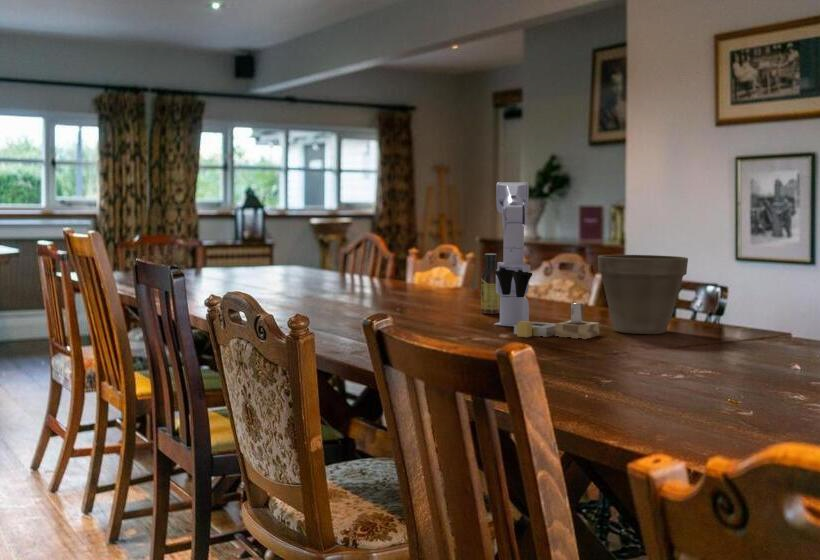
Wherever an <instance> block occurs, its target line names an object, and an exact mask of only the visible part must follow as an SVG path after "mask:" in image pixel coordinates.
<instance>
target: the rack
mask: <svg viewBox="0 0 820 560" xmlns="http://www.w3.org/2000/svg"><path fill="white" fill-rule="evenodd" d="M554 324H555V335H554V336H555V337H556V336H559V337H558V338H567V337H571V339H578V338H582V340H587V338H588V339H591V338H595V337H598V336H600V322H596V321H595V322H593V321H583V325H578V324H571V319H570V320H567V321H566V320H565V321H562V322H557V323H554Z"/></svg>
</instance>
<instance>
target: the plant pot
mask: <svg viewBox="0 0 820 560" xmlns="http://www.w3.org/2000/svg"><path fill="white" fill-rule="evenodd" d="M688 261H689V258H688V257H685V256H678V255H677V256H676V255H675V256H674V255H673V256H672V255H657V254H654V255H653V254H652V255H651V254H603V255H598V256H597V268H598V269H597V270H598V274H601V279H602V283H603V287H604V292H605V296H606V301H607V306H608V309H609V314H610V320H611V324H612V327H613V330H614V331H615V332H619V333H625V334H631V335H632V334H633V335H635V334H636V335H660V334H665V333H666V332H667V330H668V327H669V324H670V321H671V319H672V315H673V312H674V309H675V306H676V303H677V302H676V301H677V299H678V295H679V292H680V289H681V286H682V282H683V277H684V276H686V275H687V272H688V271H687V270H688V264H689V263H688Z"/></svg>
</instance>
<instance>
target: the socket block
mask: <svg viewBox="0 0 820 560" xmlns="http://www.w3.org/2000/svg"><path fill="white" fill-rule="evenodd" d="M531 322H532V336H531V337H540V336H543V337H542V338H548V337H552V336H555V324H556V323H554V322H553V323H552V322H551V323H550V322H540V321H531ZM513 335H517V325H514V326H513Z"/></svg>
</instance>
